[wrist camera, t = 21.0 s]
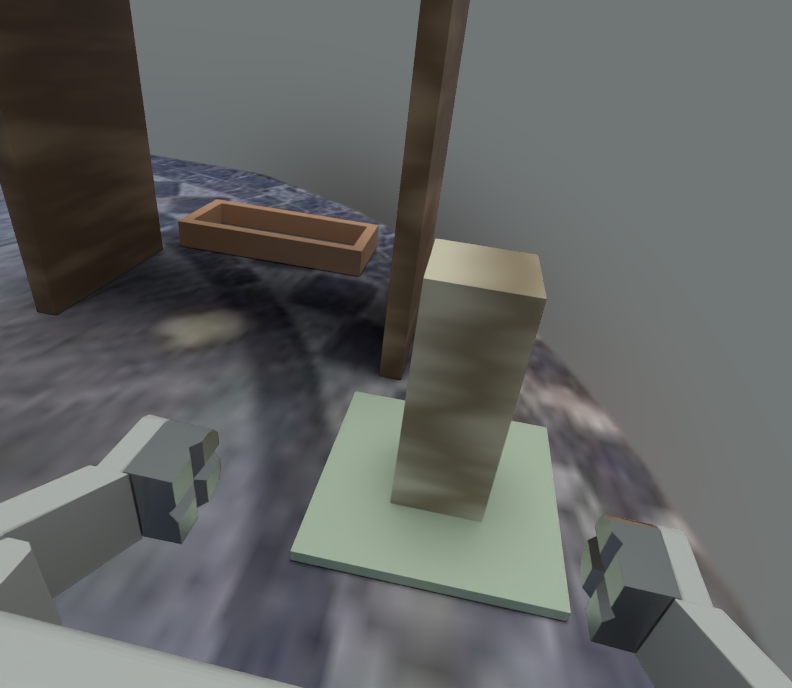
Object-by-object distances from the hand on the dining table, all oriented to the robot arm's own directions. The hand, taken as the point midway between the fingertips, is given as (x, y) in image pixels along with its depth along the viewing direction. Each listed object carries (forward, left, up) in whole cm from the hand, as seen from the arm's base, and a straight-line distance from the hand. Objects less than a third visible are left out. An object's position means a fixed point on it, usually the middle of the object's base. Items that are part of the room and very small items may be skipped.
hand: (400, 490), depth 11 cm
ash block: (+1, +12, -11) cm, 17 cm away
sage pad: (+1, +12, -12) cm, 17 cm away
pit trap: (-18, +41, -12) cm, 46 cm away
